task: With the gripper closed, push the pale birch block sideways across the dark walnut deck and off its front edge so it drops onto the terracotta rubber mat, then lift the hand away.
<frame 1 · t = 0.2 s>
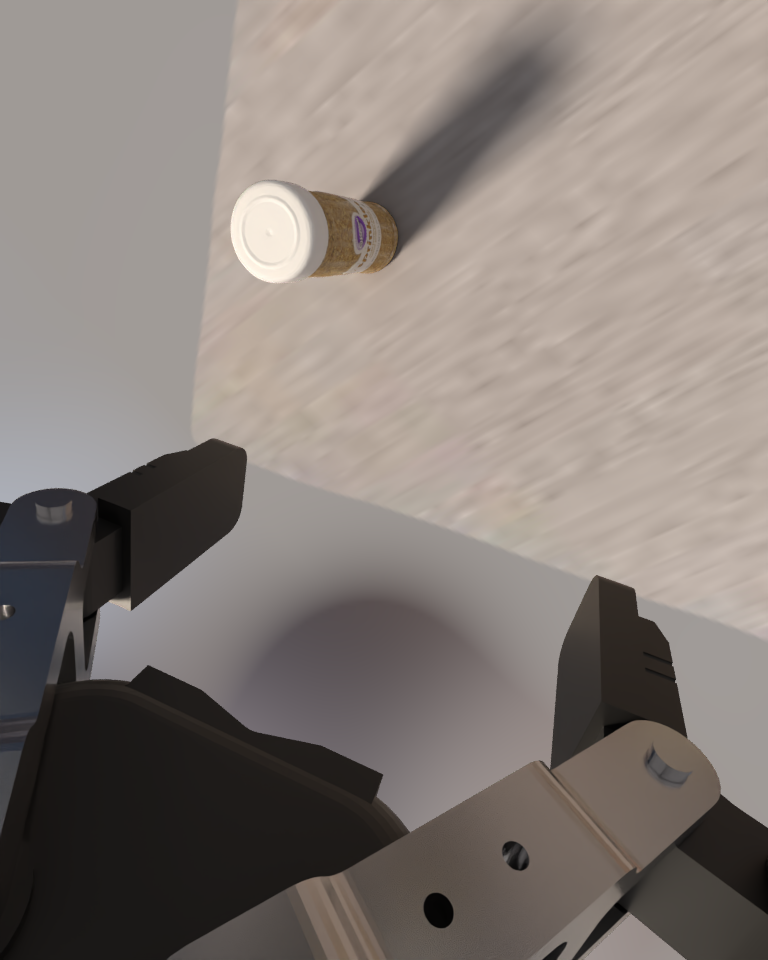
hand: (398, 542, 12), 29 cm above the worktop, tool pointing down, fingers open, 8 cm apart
sprinkles bottle: (368, 237, 38), on the worktop
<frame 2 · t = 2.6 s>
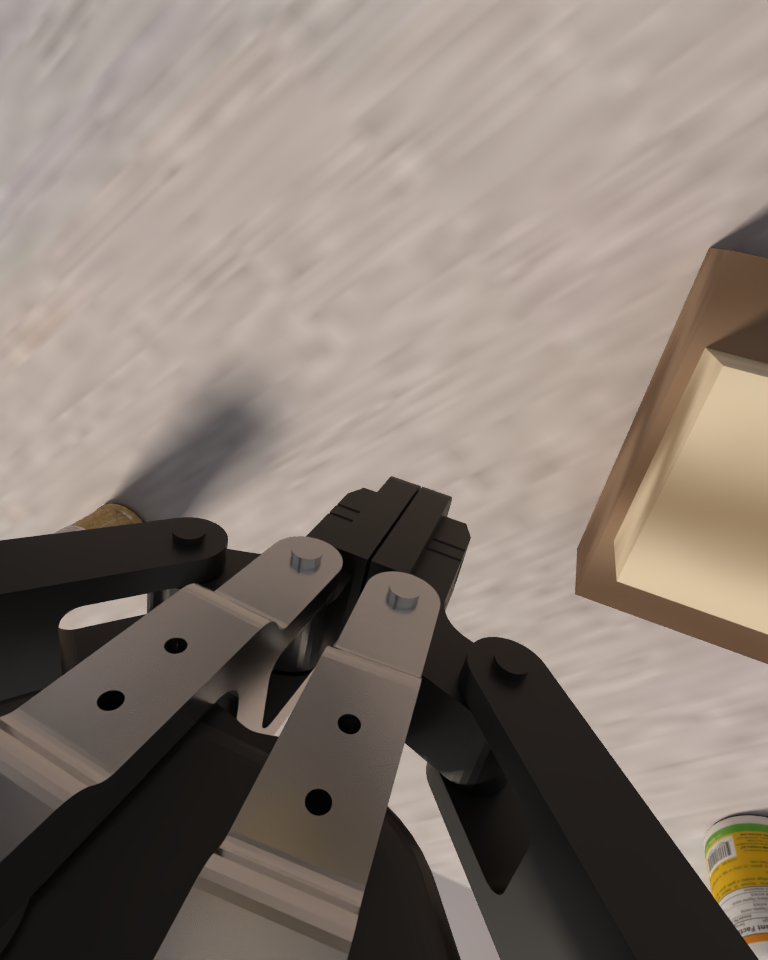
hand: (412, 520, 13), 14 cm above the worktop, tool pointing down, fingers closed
walnut deck: (756, 453, 23), on the worktop
supplement bottle: (756, 844, 31), on the worktop
sprinkles bottle: (126, 529, 38), on the worktop
birch block: (751, 495, 19), point 5 cm above the worktop, touching walnut deck
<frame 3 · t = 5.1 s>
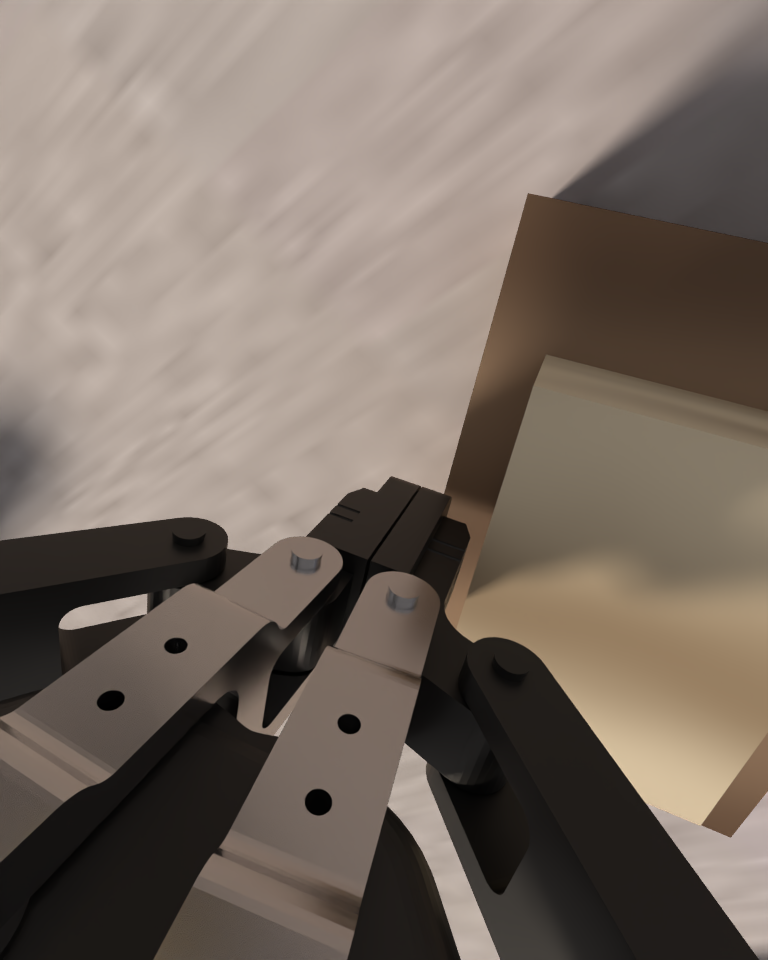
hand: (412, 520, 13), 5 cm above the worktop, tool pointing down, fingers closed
walnut deck: (634, 497, 17), on the worktop
birch block: (622, 586, 12), point 5 cm above the worktop, touching gripper, walnut deck
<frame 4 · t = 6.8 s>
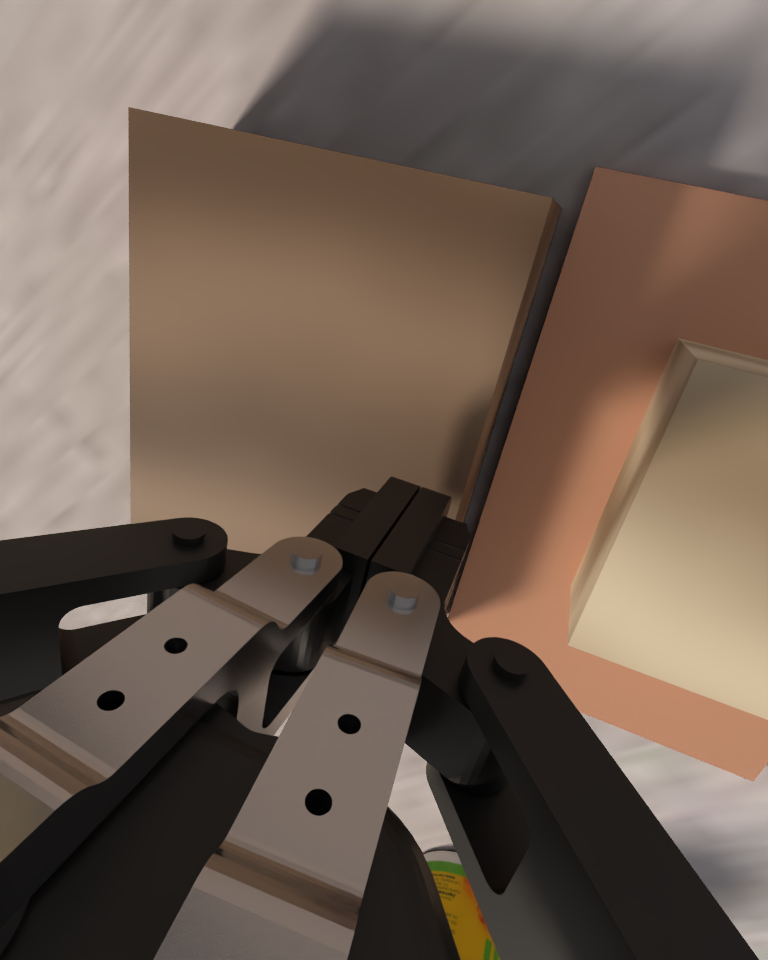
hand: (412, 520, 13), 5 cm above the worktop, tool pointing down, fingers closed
terracotta mat: (683, 513, 16), on the worktop
walnut deck: (341, 405, 19), on the worktop
supplement bottle: (464, 884, 26), on the worktop
birch block: (741, 534, 14), point 2 cm above the worktop, tilted 180°, touching terracotta mat
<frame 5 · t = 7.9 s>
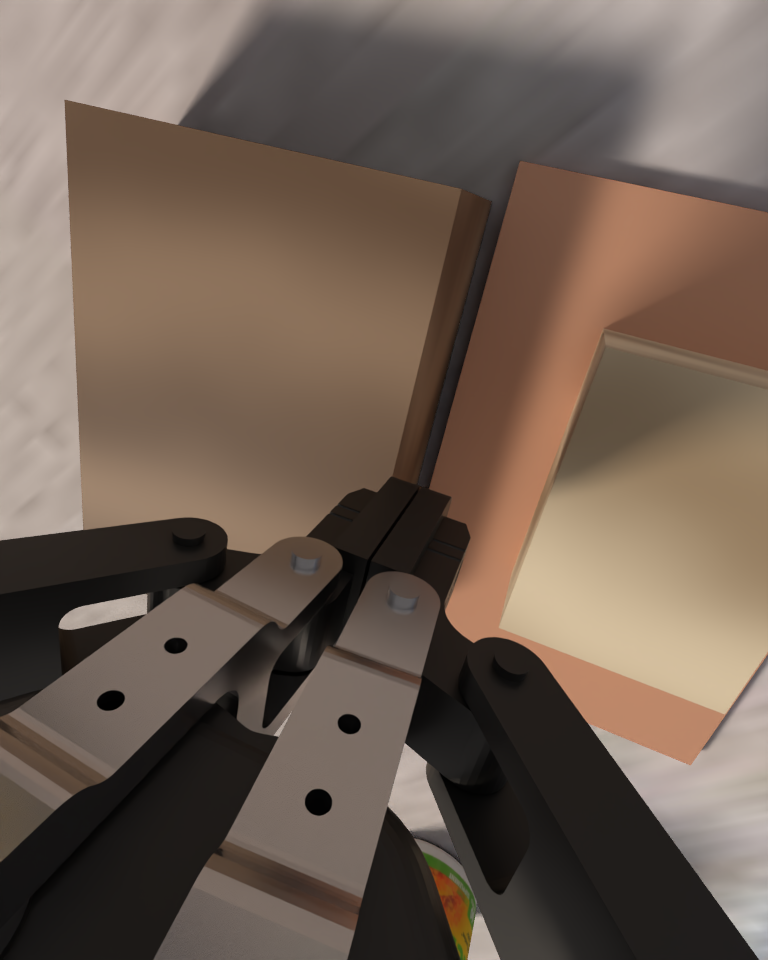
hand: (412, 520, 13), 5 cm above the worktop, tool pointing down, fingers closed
terracotta mat: (617, 501, 17), on the worktop
walnut deck: (290, 394, 19), on the worktop
supplement bottle: (423, 870, 26), on the worktop
birch block: (663, 519, 14), point 2 cm above the worktop, tilted 180°, touching terracotta mat
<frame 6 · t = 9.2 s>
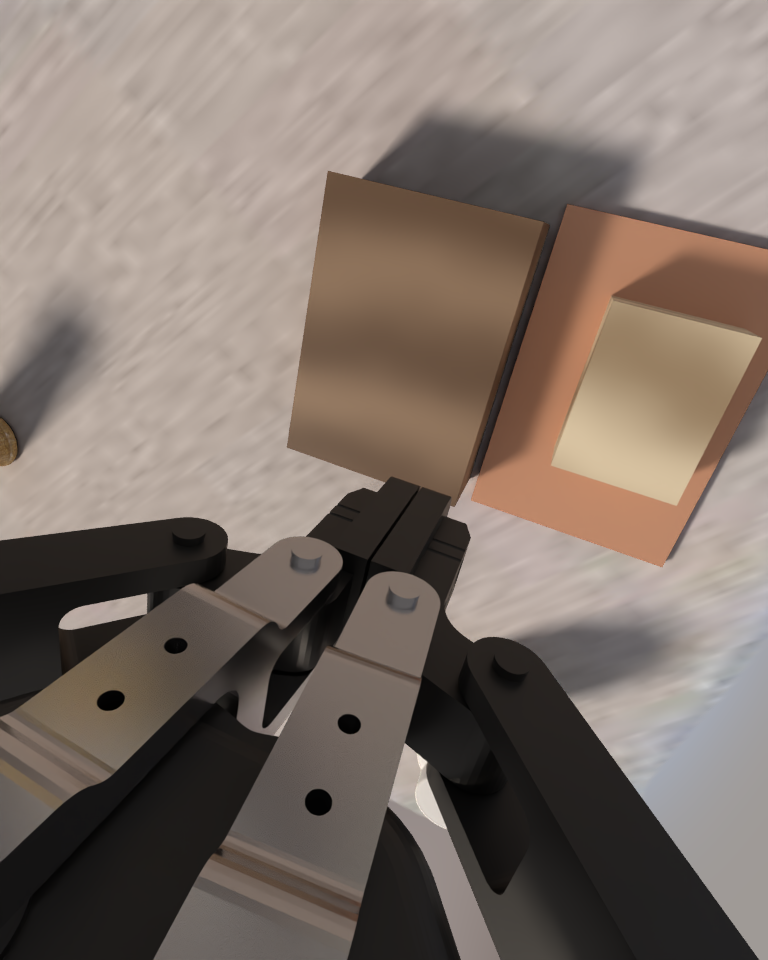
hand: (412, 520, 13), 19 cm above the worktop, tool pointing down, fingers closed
terracotta mat: (618, 398, 29), on the worktop
walnut deck: (418, 339, 31), on the worktop
supplement bottle: (482, 679, 38), on the worktop
sprinkles bottle: (0, 436, 45), on the worktop
birch block: (643, 399, 26), point 2 cm above the worktop, tilted 180°, touching terracotta mat
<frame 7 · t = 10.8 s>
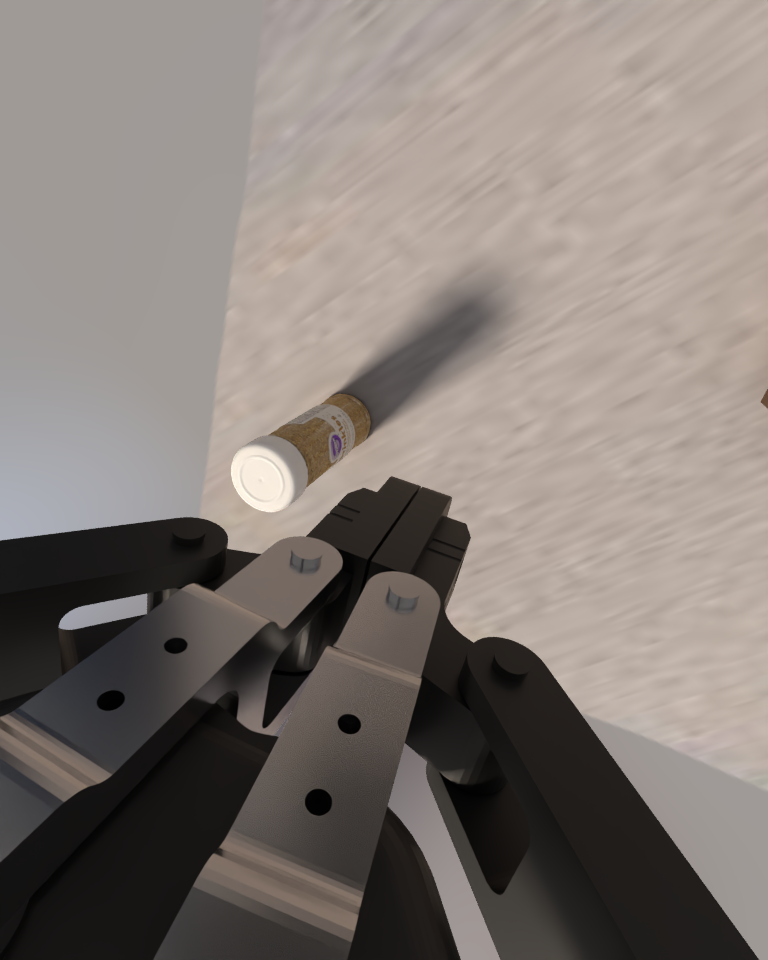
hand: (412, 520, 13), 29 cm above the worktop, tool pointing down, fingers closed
sprinkles bottle: (346, 418, 46), on the worktop
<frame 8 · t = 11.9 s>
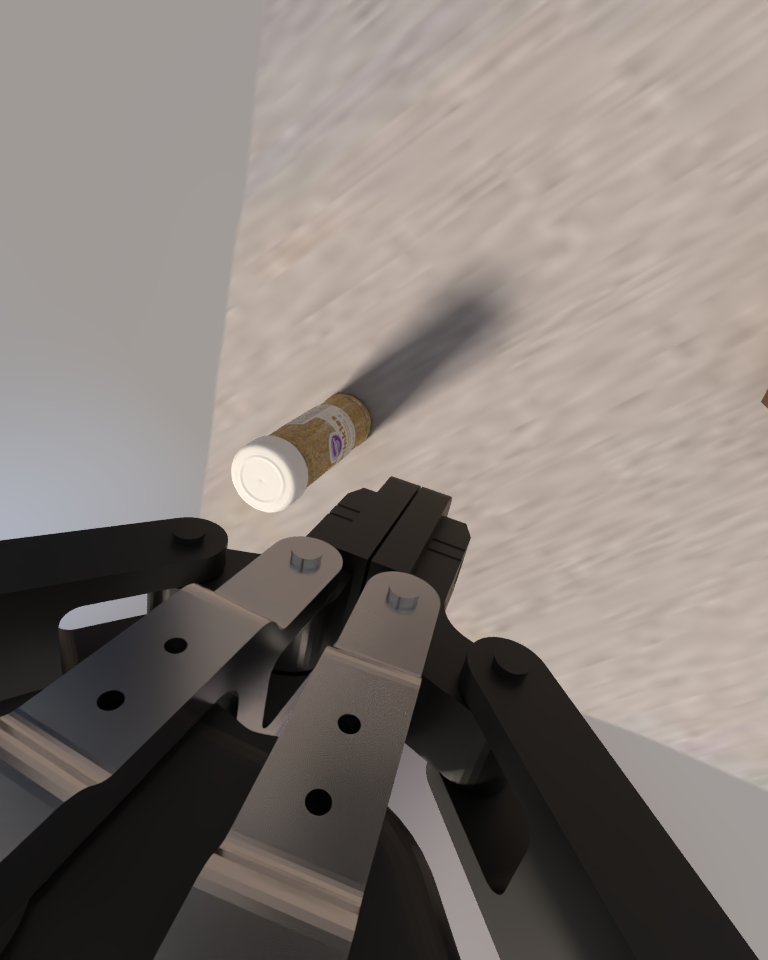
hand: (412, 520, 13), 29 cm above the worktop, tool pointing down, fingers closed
sprinkles bottle: (347, 418, 46), on the worktop
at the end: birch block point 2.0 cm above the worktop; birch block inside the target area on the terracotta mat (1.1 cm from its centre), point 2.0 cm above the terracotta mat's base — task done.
